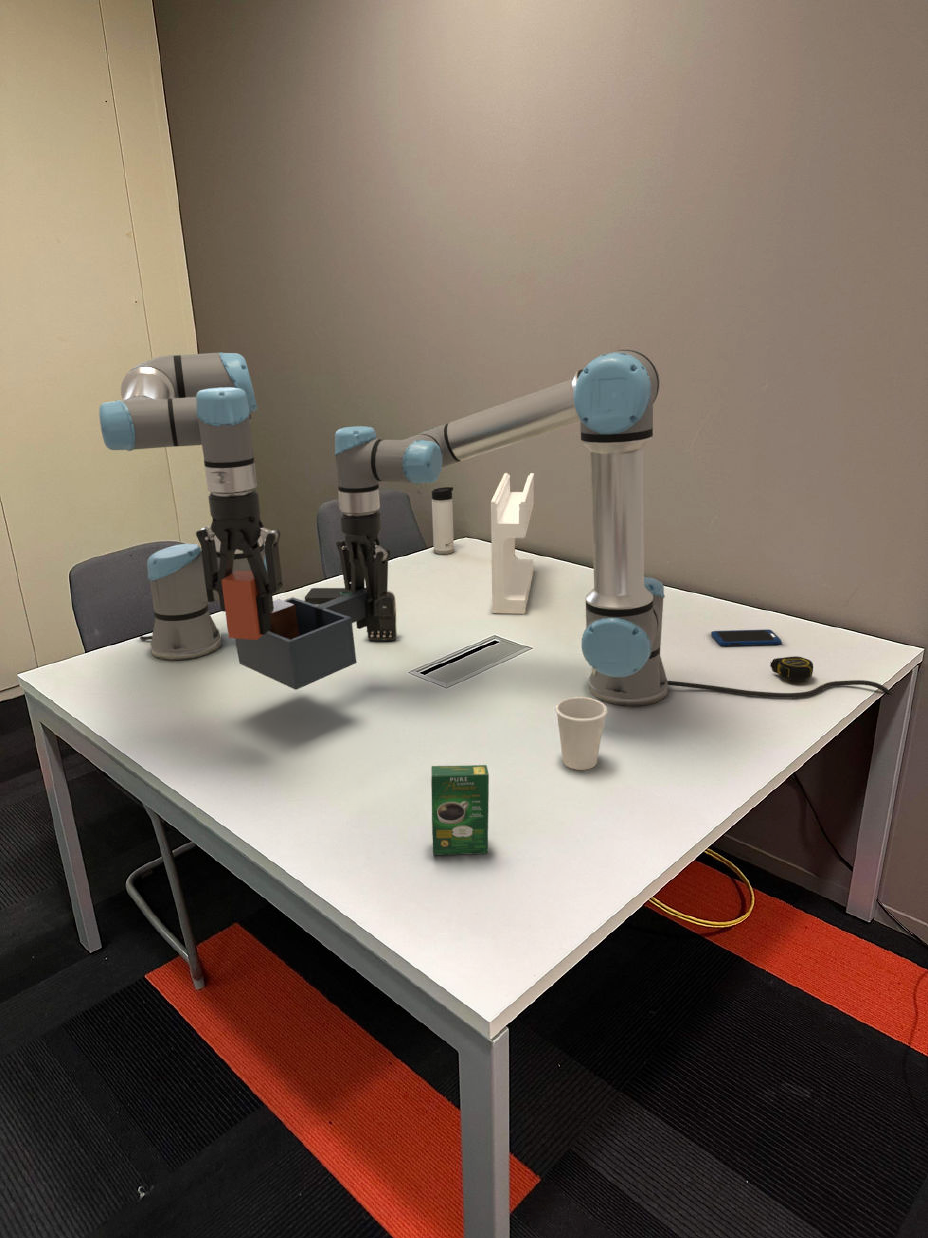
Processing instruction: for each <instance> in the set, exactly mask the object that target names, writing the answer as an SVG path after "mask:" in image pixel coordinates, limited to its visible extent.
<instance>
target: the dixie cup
mask: <svg viewBox="0 0 928 1238" xmlns="http://www.w3.org/2000/svg"><path fill="white" fill-rule="evenodd" d="M555 712H556V715H557V725H558V733H559V742H560V749H561V756H562V757H561V758H562V763H563V764H564V766H565V767H567V768H569V769H572V770H577V771H586V770H590V769H592V768H594V767H596V765H597V763H598V758H599V752H600V747H601V740H602V736H603V735H602V734H603V728H604V724H605V719H606V715H607V713H608V708H607V706H606V704H604V703H603V702H602V701H600V700H599V699H598V700H597V699H595V698H592V697H585V696H572V697H567V698H564V699H562V700H560V701H559V702H558V703H557V704H555Z"/></svg>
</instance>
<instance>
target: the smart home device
mask: <svg viewBox="0 0 928 1238" xmlns="http://www.w3.org/2000/svg"><path fill="white" fill-rule="evenodd" d="M350 593H351V592H350V591H346V589H345V587H312V588H310V590H309V591H308V592H307V593H306V595H305V596H304V601H305V602H308V603H311V604H323V603H326V602H328V601H331V600H334V599H336V598H339V597H342V596H344V595H347V594H350Z"/></svg>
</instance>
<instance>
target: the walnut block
mask: <svg viewBox="0 0 928 1238" xmlns="http://www.w3.org/2000/svg"><path fill="white" fill-rule="evenodd" d="M273 606H274V609H273V612H271V613H270V622H271V629H270V630H269V631H270V632H272V633H275V634H277V635H279V636H282V637H284V638H287V639H289V640H291V639H294V638H296V637H299V630H298V623H297V616H296V608H295V604H292V603H289V602H286V601H284V600H283V599H281V598H277V599H274V600H273Z"/></svg>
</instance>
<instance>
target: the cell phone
mask: <svg viewBox="0 0 928 1238" xmlns="http://www.w3.org/2000/svg"><path fill="white" fill-rule="evenodd" d="M710 635H711V636H712V638H713V639H714V640H715V641H716V643H717V644H718V646H722V647H732V646H735V647H738V646H767V645H770V646H771V645H781V644H782V639H781V638H780V637H779V636H778V635H777V634H776V633H775V632H774V631H773V630H772V629H737V630H732V629H731V630H713V631H711V632H710Z"/></svg>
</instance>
